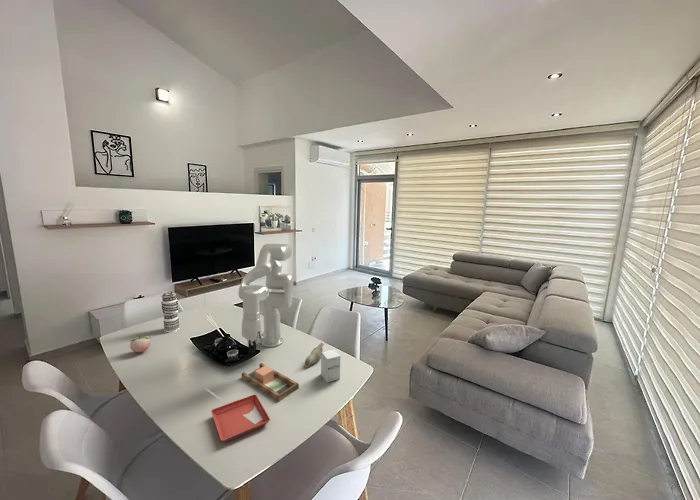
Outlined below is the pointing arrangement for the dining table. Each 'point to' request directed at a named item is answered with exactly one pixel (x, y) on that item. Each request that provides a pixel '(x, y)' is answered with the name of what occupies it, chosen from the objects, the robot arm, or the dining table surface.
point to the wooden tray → (273, 384)
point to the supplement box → (330, 365)
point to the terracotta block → (264, 375)
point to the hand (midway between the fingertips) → (252, 351)
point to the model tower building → (170, 312)
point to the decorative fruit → (140, 344)
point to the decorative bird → (314, 355)
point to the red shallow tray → (238, 417)
